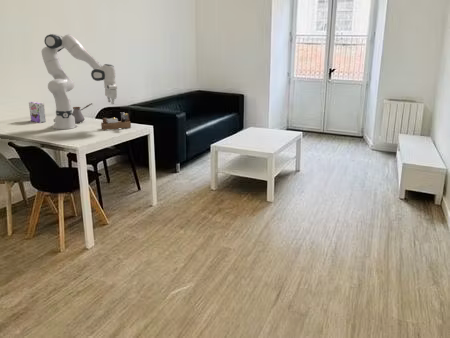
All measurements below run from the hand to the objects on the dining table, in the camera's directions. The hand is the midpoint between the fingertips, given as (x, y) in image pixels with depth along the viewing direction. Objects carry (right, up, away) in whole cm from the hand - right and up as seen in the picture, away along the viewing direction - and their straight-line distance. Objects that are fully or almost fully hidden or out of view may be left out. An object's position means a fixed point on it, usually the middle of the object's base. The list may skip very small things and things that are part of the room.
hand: (111, 103), depth 324 cm
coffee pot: (-33, -11, +31) cm, 47 cm away
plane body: (+2, -19, +8) cm, 21 cm away
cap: (0, -15, +5) cm, 16 cm away
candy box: (-70, -12, +27) cm, 76 cm away
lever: (+10, -15, +5) cm, 18 cm away
